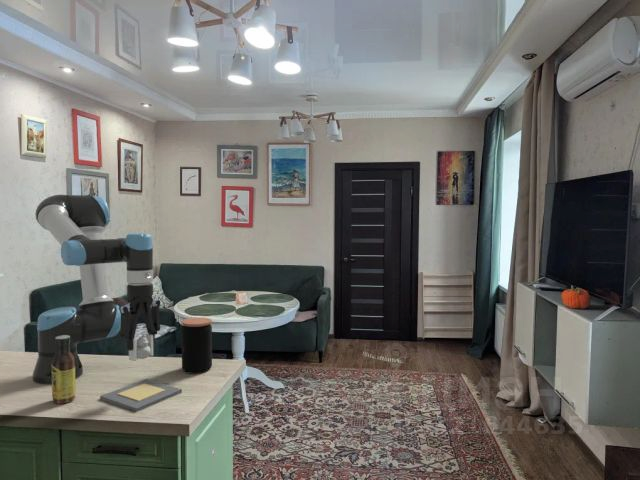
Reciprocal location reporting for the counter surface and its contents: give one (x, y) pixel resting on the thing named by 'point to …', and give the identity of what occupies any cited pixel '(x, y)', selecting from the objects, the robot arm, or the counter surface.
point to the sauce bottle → (63, 372)
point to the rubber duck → (143, 348)
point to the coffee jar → (196, 345)
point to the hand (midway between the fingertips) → (141, 357)
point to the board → (141, 394)
